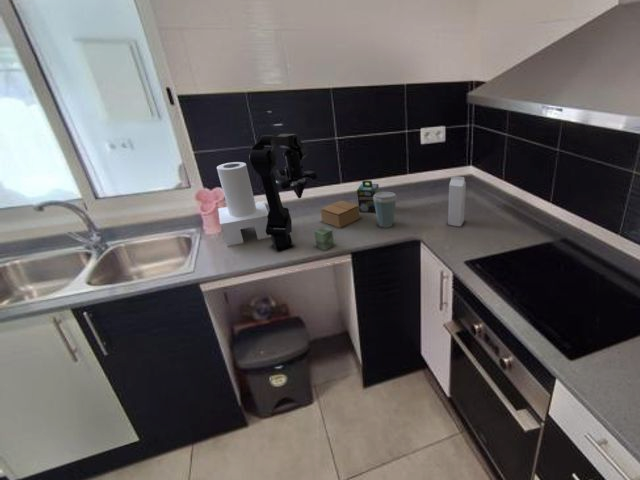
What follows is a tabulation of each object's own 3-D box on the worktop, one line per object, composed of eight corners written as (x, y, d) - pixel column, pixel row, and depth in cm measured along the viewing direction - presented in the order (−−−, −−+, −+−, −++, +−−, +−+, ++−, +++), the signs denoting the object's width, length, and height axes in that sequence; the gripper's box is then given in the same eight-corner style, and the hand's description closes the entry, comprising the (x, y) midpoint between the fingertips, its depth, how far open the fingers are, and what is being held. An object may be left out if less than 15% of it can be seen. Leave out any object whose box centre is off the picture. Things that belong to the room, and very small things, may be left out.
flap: (338, 214, 168) (338, 214, 168) (320, 209, 174) (320, 208, 174) (348, 210, 172) (348, 210, 172) (331, 205, 178) (330, 204, 178)
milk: (460, 226, 171) (463, 179, 160) (447, 224, 172) (449, 178, 162) (464, 221, 176) (466, 175, 165) (451, 219, 177) (453, 173, 167)
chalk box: (380, 205, 194) (378, 177, 187) (377, 212, 186) (374, 183, 179) (362, 205, 195) (360, 177, 188) (358, 211, 187) (355, 182, 180)
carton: (339, 227, 171) (338, 214, 168) (322, 221, 177) (320, 208, 174) (359, 218, 180) (358, 205, 176) (342, 212, 186) (341, 200, 183)
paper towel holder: (224, 229, 171) (205, 163, 156) (267, 220, 178) (253, 157, 164) (226, 246, 156) (206, 175, 142) (273, 236, 164) (259, 168, 149)
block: (325, 250, 152) (322, 234, 149) (316, 246, 155) (314, 231, 152) (334, 245, 156) (332, 230, 152) (326, 242, 158) (324, 227, 155)
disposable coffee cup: (372, 221, 176) (370, 190, 169) (395, 218, 179) (394, 188, 172) (376, 230, 167) (374, 198, 160) (400, 228, 170) (399, 196, 163)
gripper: (299, 156, 174) (304, 188, 181) (263, 165, 161) (270, 200, 168) (315, 160, 168) (320, 193, 176) (279, 170, 155) (286, 205, 163)
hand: (299, 198), depth 171 cm, fingers closed
